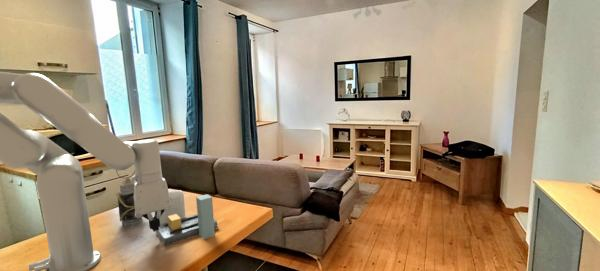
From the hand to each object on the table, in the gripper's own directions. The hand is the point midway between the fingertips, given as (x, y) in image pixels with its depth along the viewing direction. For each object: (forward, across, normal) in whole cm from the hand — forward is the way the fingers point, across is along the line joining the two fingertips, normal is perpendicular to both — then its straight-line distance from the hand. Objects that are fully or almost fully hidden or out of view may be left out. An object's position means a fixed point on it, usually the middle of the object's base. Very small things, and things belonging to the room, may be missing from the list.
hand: (155, 229), depth 94 cm
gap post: (+4, +14, -8) cm, 17 cm away
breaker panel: (+4, +10, 0) cm, 11 cm away
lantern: (+4, -4, +20) cm, 21 cm away
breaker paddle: (+1, +6, 0) cm, 6 cm away
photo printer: (+4, +8, +12) cm, 15 cm away
